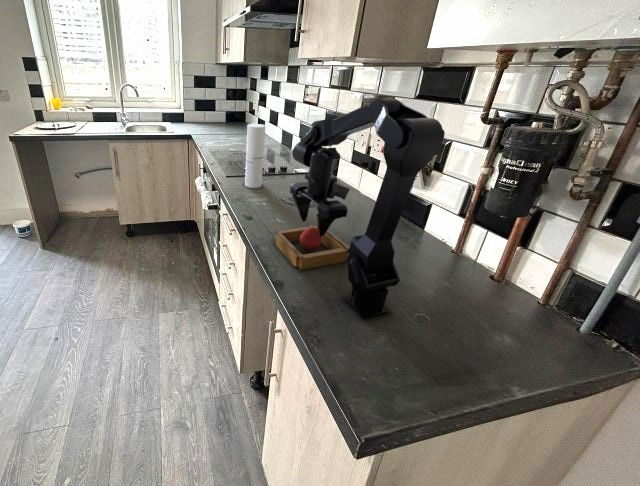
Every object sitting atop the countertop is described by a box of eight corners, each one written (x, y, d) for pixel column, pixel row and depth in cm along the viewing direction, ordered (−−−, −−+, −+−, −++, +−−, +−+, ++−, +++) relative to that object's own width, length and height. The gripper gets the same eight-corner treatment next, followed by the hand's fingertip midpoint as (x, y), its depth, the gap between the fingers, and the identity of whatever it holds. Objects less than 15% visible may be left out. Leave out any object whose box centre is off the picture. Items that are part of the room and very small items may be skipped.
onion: (322, 249, 91) (326, 224, 88) (315, 258, 87) (319, 232, 83) (302, 243, 94) (306, 219, 90) (295, 252, 89) (298, 227, 86)
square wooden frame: (348, 261, 86) (351, 247, 84) (298, 270, 81) (300, 256, 80) (317, 235, 99) (319, 223, 97) (273, 241, 94) (274, 229, 92)
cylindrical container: (261, 188, 135) (265, 127, 124) (244, 187, 135) (247, 126, 124) (261, 182, 141) (264, 124, 130) (245, 182, 141) (247, 123, 130)
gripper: (372, 181, 75) (359, 240, 82) (327, 160, 91) (319, 211, 97) (331, 186, 71) (321, 246, 78) (291, 163, 87) (286, 215, 94)
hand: (312, 228), depth 87 cm, fingers open, 9 cm apart
